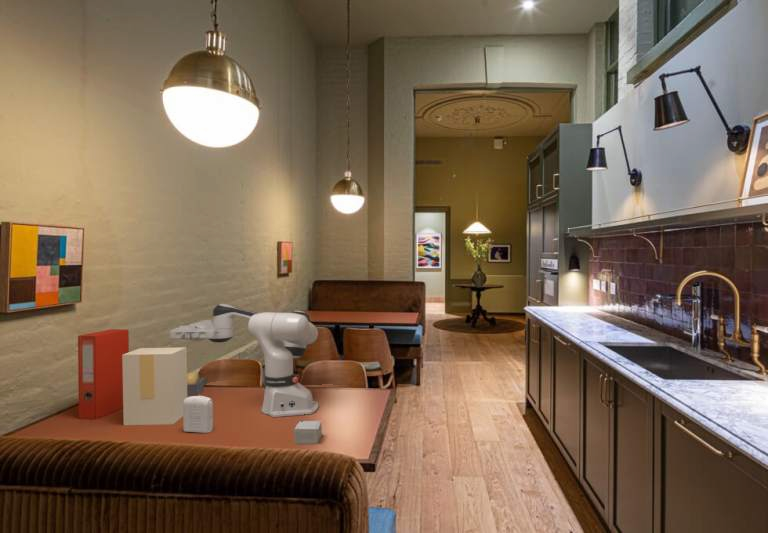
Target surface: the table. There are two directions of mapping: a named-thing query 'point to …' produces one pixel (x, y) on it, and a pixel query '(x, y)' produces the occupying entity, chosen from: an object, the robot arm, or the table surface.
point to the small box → (307, 432)
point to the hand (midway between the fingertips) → (186, 336)
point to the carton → (154, 385)
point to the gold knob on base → (195, 383)
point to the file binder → (101, 372)
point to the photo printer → (198, 414)
